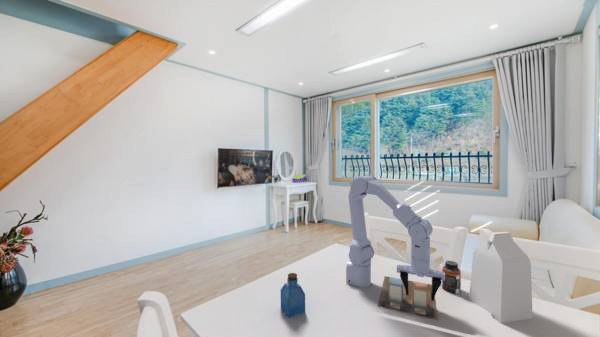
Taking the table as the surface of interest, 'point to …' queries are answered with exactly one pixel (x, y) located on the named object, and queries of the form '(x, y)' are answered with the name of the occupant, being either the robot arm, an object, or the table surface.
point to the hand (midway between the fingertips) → (419, 296)
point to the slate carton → (395, 289)
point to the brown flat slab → (408, 302)
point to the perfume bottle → (292, 296)
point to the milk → (502, 279)
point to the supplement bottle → (451, 277)
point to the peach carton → (420, 294)
